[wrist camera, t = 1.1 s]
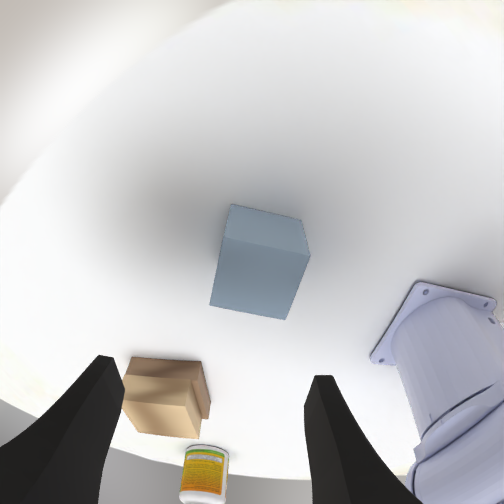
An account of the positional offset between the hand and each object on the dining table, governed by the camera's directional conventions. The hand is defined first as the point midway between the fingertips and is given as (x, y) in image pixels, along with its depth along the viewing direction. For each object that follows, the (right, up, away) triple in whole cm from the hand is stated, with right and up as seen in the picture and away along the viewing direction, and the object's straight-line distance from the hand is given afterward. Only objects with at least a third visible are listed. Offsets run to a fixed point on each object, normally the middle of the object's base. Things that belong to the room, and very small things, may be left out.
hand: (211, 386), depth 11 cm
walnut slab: (-5, -6, +16) cm, 18 cm away
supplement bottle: (-4, -20, +23) cm, 31 cm away
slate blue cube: (+2, +5, +8) cm, 10 cm away
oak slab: (-6, -7, +13) cm, 16 cm away
